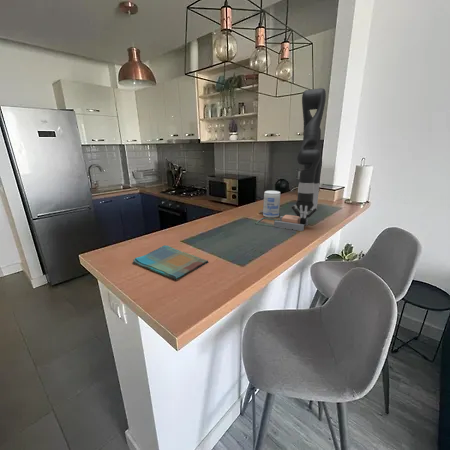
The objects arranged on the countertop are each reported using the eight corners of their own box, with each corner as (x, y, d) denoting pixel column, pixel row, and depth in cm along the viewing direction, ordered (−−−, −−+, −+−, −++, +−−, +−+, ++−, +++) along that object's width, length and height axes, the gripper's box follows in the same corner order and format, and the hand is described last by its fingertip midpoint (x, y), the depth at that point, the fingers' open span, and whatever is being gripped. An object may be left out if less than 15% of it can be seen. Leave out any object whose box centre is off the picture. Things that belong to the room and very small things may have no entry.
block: (285, 223, 137) (285, 214, 136) (299, 225, 134) (300, 216, 132) (281, 226, 131) (281, 217, 130) (296, 229, 128) (297, 219, 126)
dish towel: (167, 249, 106) (166, 243, 106) (209, 263, 93) (209, 257, 93) (132, 264, 93) (131, 258, 92) (176, 283, 80) (175, 276, 79)
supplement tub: (267, 218, 144) (268, 193, 140) (260, 214, 153) (261, 191, 148) (282, 217, 147) (283, 192, 142) (274, 213, 156) (275, 189, 151)
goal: (262, 218, 145) (262, 217, 145) (279, 220, 141) (279, 219, 140) (255, 224, 136) (255, 223, 135) (272, 226, 131) (272, 225, 131)
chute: (280, 220, 140) (280, 215, 139) (307, 224, 133) (308, 219, 132) (273, 226, 131) (274, 221, 130) (302, 231, 124) (303, 225, 123)
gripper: (321, 191, 123) (317, 224, 129) (294, 189, 129) (292, 221, 135) (318, 193, 117) (314, 228, 123) (290, 191, 123) (288, 224, 129)
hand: (302, 224), depth 129 cm, fingers closed
